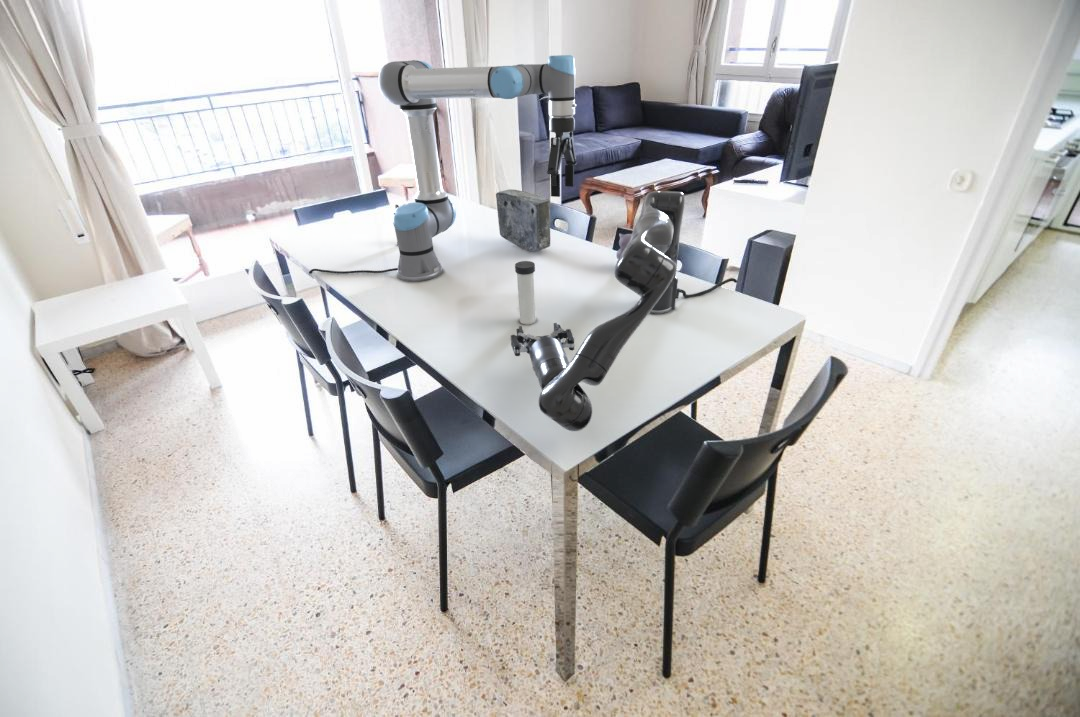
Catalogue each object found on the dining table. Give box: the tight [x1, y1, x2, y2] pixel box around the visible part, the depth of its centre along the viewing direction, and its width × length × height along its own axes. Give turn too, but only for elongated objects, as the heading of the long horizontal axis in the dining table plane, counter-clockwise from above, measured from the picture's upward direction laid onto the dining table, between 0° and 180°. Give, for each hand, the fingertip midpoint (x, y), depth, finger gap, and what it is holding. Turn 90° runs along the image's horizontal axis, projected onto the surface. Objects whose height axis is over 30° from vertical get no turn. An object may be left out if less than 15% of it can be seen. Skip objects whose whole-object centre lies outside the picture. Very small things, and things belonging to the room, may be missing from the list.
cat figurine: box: [616, 232, 632, 260], centre depth 171 cm, size 9×8×12 cm
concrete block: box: [495, 188, 551, 252], centre depth 191 cm, size 27×9×20 cm, turn 36°
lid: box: [514, 260, 536, 275], centre depth 134 cm, size 5×5×2 cm
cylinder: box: [516, 272, 537, 325], centre depth 138 cm, size 4×4×17 cm
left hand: (562, 191), depth 156 cm, fingers open, 13 cm apart
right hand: (537, 327), depth 120 cm, fingers open, 8 cm apart
